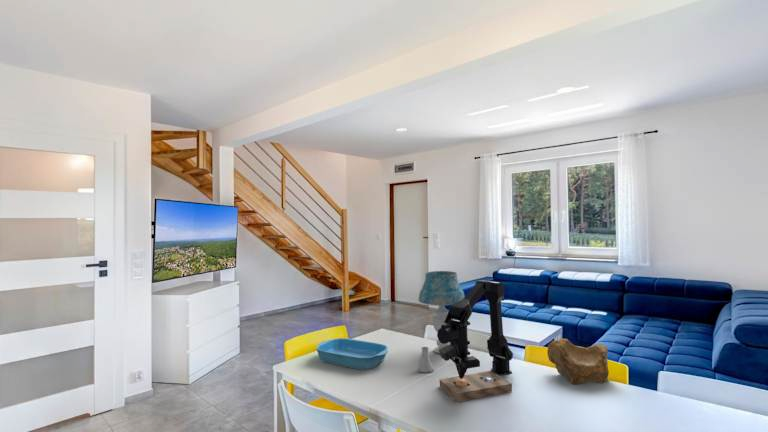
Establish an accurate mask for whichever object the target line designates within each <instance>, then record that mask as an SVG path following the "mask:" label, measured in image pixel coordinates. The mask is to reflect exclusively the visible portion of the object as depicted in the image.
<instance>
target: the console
mask: <svg viewBox="0 0 768 432" xmlns="http://www.w3.org/2000/svg"><path fill="white" fill-rule="evenodd" d="M483 376H492V377H493V378H494V381H492V382H487V383H486V382H485V381H483V380H482V377H483ZM458 378H459V375H458V376H450V377H445V378H440V379H439V382H438V383H439V388H440V389H442V390H443V391H444V392H445V393H446V394H447V395H449V397H451V398H452V400H454V401H455V402H463V401H469V400H474V399H480V398H484V397H490V396H495V395H500V394H505V393H506V394H507V393H511V392H513V383H511V382H510V381H508V380H507V379H505V378H504V377H502V376H501V375H499V374H497V373H495V372H494V371H492V370H487V371H482V372H481V371H480V372H475V373H470V374H469V373H468V374H465V375H464V377H463V378H464V379H466V380H467V386H464V387H458V386H456V379H458Z"/></svg>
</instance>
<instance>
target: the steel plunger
mask: <svg viewBox="0 0 768 432" xmlns="http://www.w3.org/2000/svg"><path fill="white" fill-rule="evenodd" d="M482 380H483V381H485V382H486V383H487V382H492V381H494V378H493V377H492V376H483V377H482Z"/></svg>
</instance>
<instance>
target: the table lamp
mask: <svg viewBox="0 0 768 432" xmlns="http://www.w3.org/2000/svg"><path fill="white" fill-rule="evenodd" d="M465 296H466V295H465V292H464V291H463V289H462V287H461V284H460V283H459V281H458V274H457V272H455V271H450V270H449V271H448V270H439V271H438V270H434V271H427V272H426V273H425V279H424V283H423V285H422V288H421V289H420V291H419V294H418V301H419V302H420V303H421V304H423V305H430V306H438V308H437V309H434V313H435V314H433V315H432V316H431V321H432V325H433V328H434V330H435V331H436V333H438V330H439V329H440V328H441V325H443V324H446V323H444V322H445V319H446V317H447V314H448V312H449V309H447V308H446V307H445V306H452V305H453V304H454V303H456V302H458V301H460V300H462V299H463V298H464V297H465ZM451 320H454V319H451ZM449 344H450V342H449V343H446V344H443V343H441V342H440V341H439V339H438V338H437V339H436V345H437V346H435V347H434V348H433V351H434V352H435V353H436V354H440V353H439V350H440V349H441V348H443V347H445V346H447V345H449Z"/></svg>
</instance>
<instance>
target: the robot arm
mask: <svg viewBox="0 0 768 432" xmlns="http://www.w3.org/2000/svg"><path fill="white" fill-rule="evenodd" d="M505 290H506V289H505V286H504V284H503V283H502V282H500V281H499V282H498V281H490V280H489V281H488V280H485V279H484V280H483V279H479V280H476V281H475V284H474V286H473V287H472V288H471V289H470V290H469V291H468V292H467V294H466V295H464V296H465V297H464V298H463V299H462V300H460V301H458V302H456V303H454V304H453V305H450V307H449V309H448V310H449V312H448V314H447V317H446V319H445V322H444V323H446V324H443V325H441V328H440V329H439V330H438V332H436V337H437V339H439V341H440V342H441V343H443V344H446V343H449V345H447V346H445V347H443V348H441V349H440V350H439V353H438V354H439V355H440V358H441V359H442V360H444V361H445V362H447V361H451V362H453V363H454V365H455V368H456V371H457V375H458V376H459V378H460V379H463V377H464V375H466V372H467V370H468V369H474V368H480V366H481V361H480V359H478V358H477V357H476V356H474V355H472V356H470V355H471V351H469V348H468V347H469V346H468V345H470V344H471V341H470V340H469V339H468V336H469V335H468V326H470V325H471V322H470V321H469V319H470V317H471V316H472V313H473V308H474V306H475V305H476V304H477V303H478V302H479V300H481V298H482V296H484V297H485V298H486V300H487V301H488V307H489V319H490V320H489V322H490V337H489V338H488V339H487V340H486V343H487V348H486V349H487V350H488V354H489V355H488V356H489V357H491V358H492V361H491V362H492V363H491V364H492V368H491V369H490V371H492V372H494V373H495V374H497V375H499V376H503V375H508V374H512V373H513V372H512V370H511V369H510V361H512V359H514V358H513V356H514V353H513V351H512V350H511V349H510V347H509V343H508V340H507V339H506V336H505V335H504V329H503V313H502V312H503V311H502V301H503V299H504V297H505ZM451 319H453V320H451Z"/></svg>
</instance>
